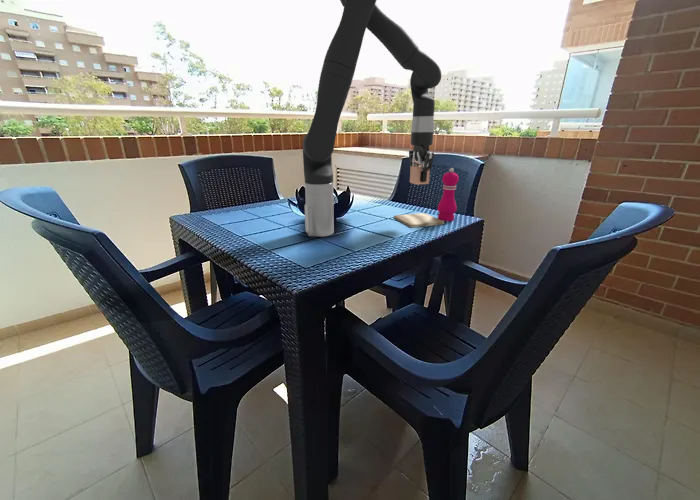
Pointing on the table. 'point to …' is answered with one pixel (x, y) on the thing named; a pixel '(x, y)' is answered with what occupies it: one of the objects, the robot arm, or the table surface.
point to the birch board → (418, 220)
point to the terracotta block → (417, 175)
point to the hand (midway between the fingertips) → (419, 180)
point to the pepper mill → (448, 196)
